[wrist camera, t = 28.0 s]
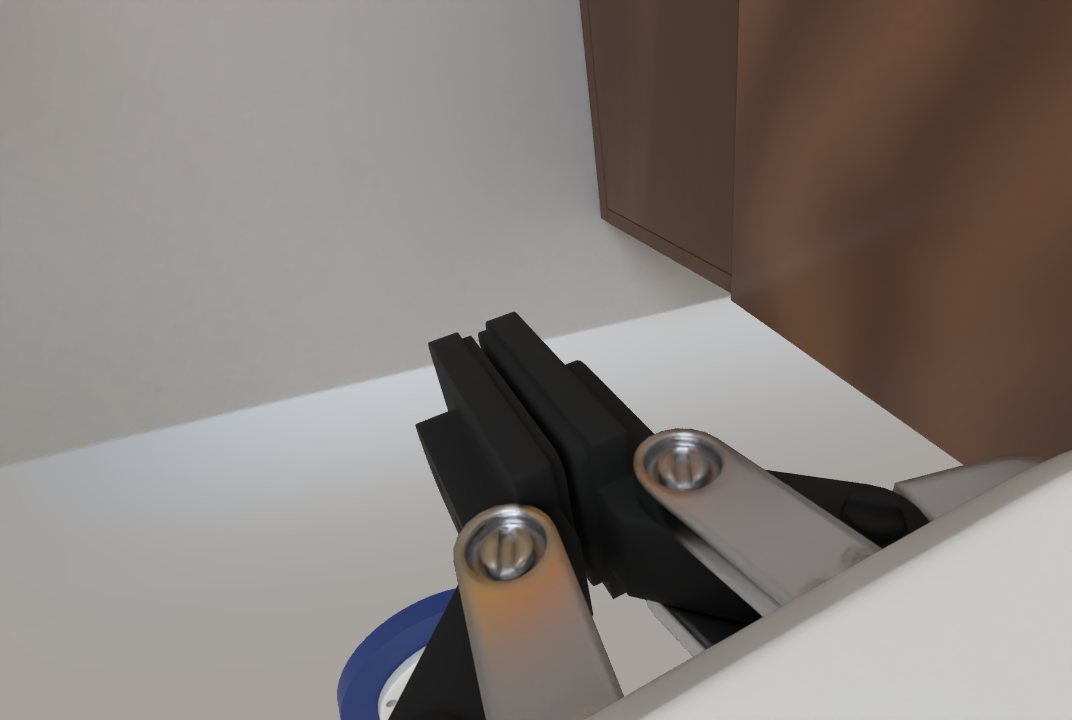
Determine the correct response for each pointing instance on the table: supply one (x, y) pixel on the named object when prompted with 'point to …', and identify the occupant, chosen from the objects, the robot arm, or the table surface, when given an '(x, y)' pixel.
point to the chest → (666, 124)
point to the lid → (915, 207)
